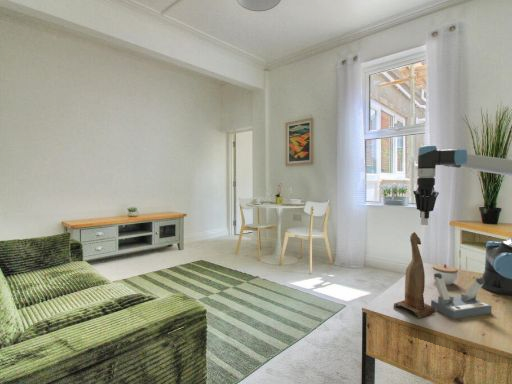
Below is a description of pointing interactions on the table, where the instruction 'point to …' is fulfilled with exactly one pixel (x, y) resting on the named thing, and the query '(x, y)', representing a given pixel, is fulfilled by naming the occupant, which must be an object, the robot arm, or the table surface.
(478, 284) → the marked lever
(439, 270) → the lidded jar
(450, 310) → the switch unit
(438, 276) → the lever
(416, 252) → the bird sculpture
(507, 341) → the table surface
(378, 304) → the table surface
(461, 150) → the robot arm
